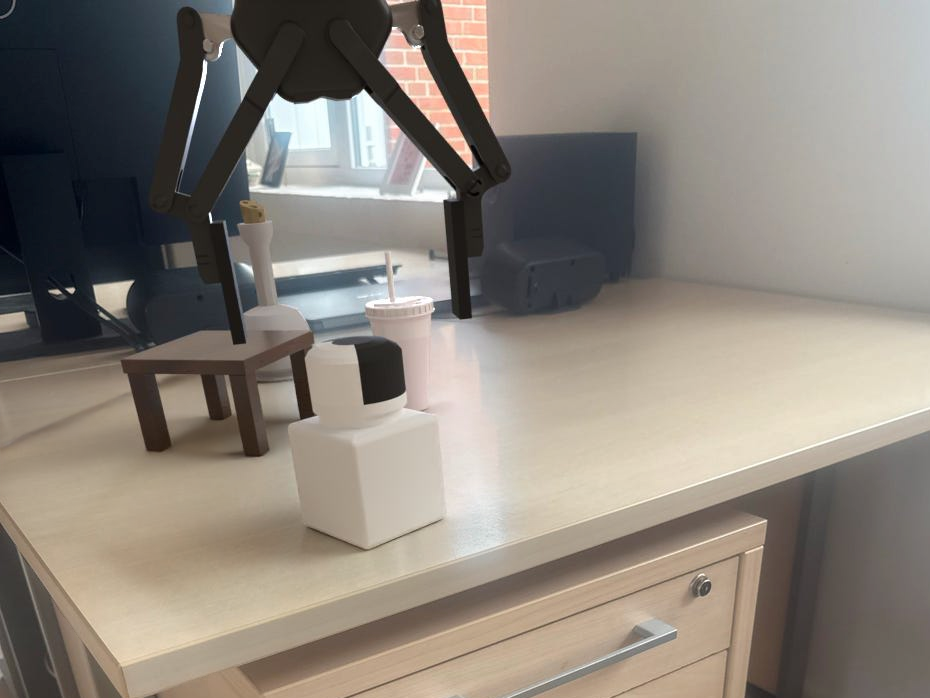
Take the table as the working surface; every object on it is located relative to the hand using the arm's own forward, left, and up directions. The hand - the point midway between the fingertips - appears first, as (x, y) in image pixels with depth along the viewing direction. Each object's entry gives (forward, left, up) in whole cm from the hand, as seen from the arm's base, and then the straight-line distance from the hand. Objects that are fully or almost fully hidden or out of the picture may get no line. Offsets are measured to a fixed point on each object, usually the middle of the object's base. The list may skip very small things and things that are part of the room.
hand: (353, 328), depth 55 cm
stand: (-22, +18, -13) cm, 31 cm away
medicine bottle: (0, 0, -13) cm, 13 cm away
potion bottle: (-30, +40, -13) cm, 52 cm away
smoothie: (-9, +28, -13) cm, 32 cm away
